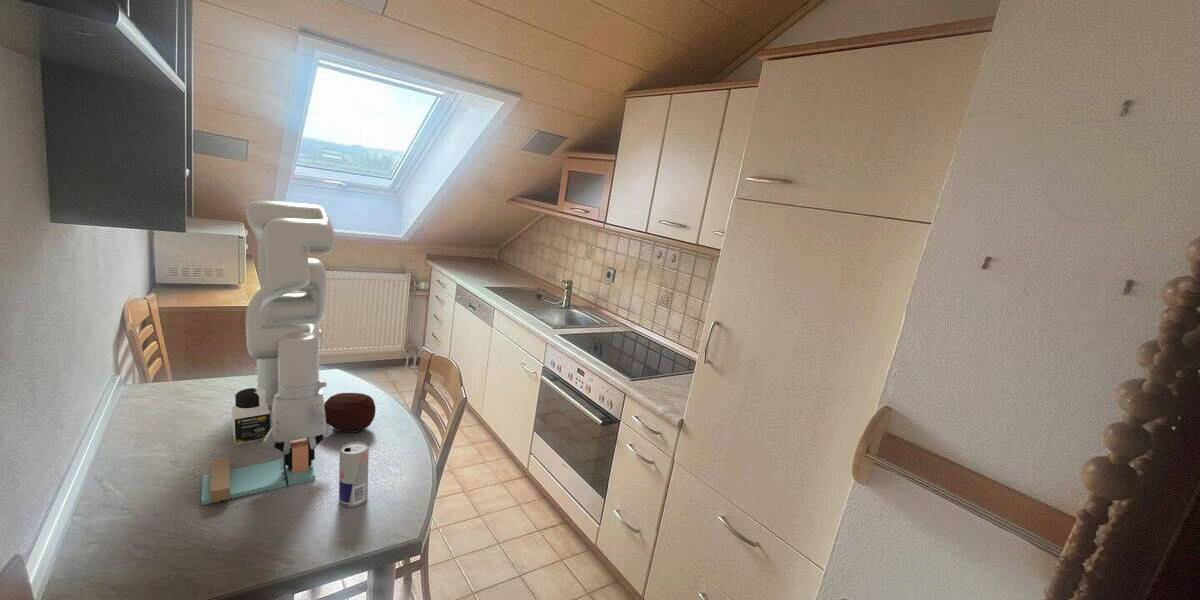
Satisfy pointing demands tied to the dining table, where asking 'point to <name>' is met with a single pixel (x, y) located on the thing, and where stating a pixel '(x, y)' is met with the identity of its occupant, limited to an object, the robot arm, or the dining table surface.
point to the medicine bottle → (250, 416)
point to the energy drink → (353, 474)
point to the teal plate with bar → (240, 480)
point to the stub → (299, 463)
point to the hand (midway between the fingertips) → (299, 464)
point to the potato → (349, 411)
